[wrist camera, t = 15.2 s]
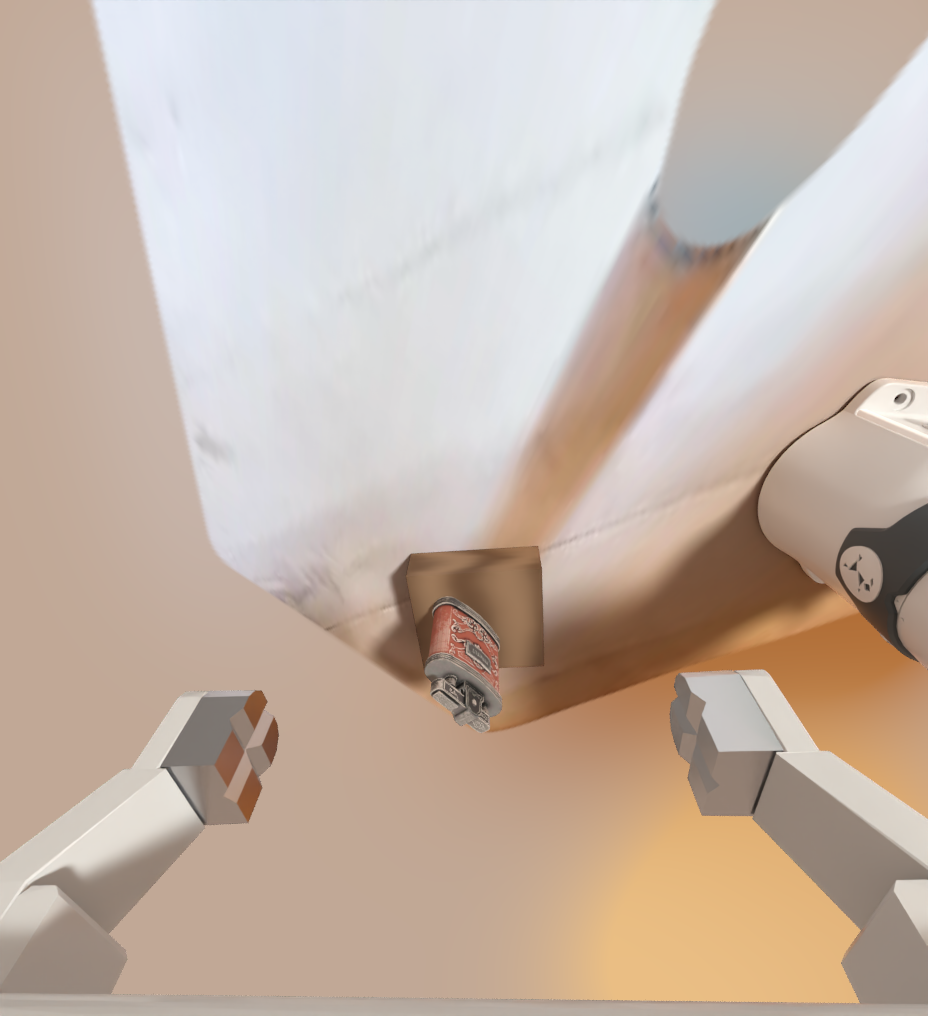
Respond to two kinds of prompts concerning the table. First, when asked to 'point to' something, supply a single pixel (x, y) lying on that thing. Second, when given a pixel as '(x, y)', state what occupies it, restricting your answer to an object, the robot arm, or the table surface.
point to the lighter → (464, 664)
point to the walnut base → (484, 596)
